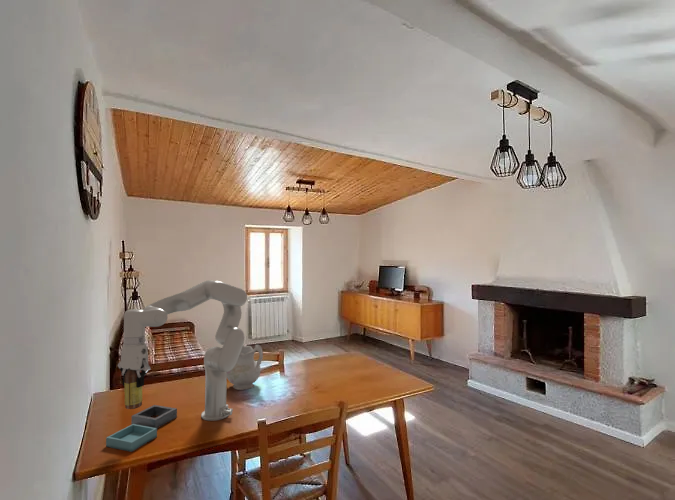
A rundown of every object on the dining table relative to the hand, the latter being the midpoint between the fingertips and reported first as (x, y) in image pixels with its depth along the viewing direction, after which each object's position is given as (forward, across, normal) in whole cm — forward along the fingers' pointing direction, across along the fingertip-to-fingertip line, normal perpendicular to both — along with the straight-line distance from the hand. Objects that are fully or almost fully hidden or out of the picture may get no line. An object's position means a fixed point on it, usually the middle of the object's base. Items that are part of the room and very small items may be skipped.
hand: (133, 385), depth 150 cm
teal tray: (+22, 0, 0) cm, 22 cm away
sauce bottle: (+9, 0, 0) cm, 9 cm away
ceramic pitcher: (+23, -8, -71) cm, 75 cm away
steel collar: (+22, +6, -18) cm, 29 cm away
